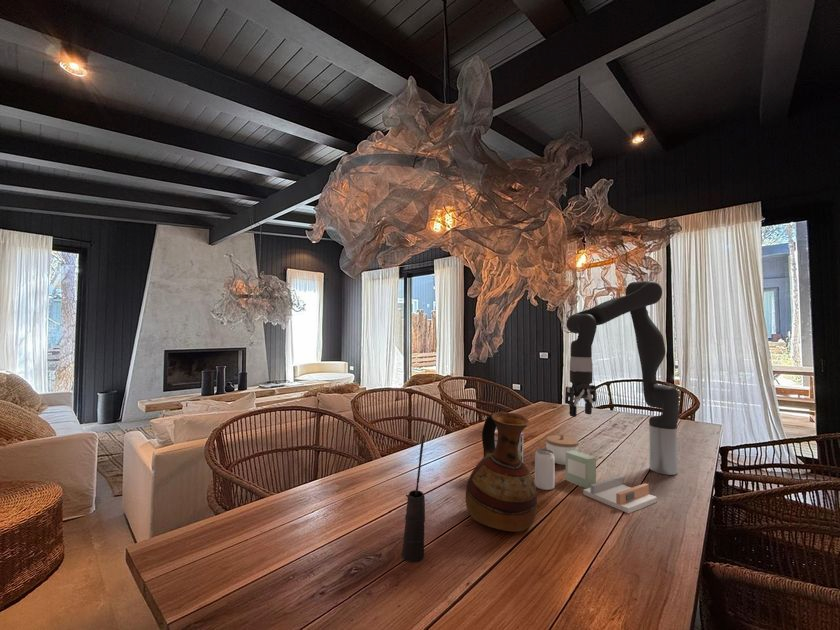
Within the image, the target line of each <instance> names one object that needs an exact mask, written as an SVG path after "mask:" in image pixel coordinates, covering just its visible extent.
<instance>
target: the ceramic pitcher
mask: <svg viewBox="0 0 840 630" xmlns="http://www.w3.org/2000/svg"><path fill="white" fill-rule="evenodd" d="M529 423H530V419H529V418H527V417H525V416H524V415H521V414H518V413H514V412H509V411H506V412H505V411H497V412H492V413H490V415H488V416H487V417H486V418H485V420H484V424H483V428H482V430H481V431H482V432H481V440H482V441H481V442H482V448H483V457H482V458H481V460H479V462H478V463H477V464H476V466H475V467H474V469H473V470H472V471H471V473H470V476H469V478H468V480H467V484H466V487H465V507H466V510H467V512H468V514H469V515H470V516H471V518H472V519H474V520H475V521H476V522H477V523H478V522H479V523H480V524H482V525H484V526H487V527H490V528H493V529H497V530H500V531H506V532H522V531H525V530H527V529H529V528H530V526H532V524H533V523H534V522H535V519H536V515H537V508H538V495H537V487H536V486H535V480H534V478H533V476H532V474H531V472H530V470H529V469H528V467H527V465H525V464H524V462H523V463H522V461H520V460H519V457H518V444H519V439H520V435H521V433H523V431H524V429H525V428H527V427H528V426H529ZM496 428H497V429H496ZM495 430H497V431H498V440H497V445H496V448H495Z"/></svg>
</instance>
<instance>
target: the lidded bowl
mask: <svg viewBox="0 0 840 630" xmlns="http://www.w3.org/2000/svg"><path fill="white" fill-rule="evenodd" d="M545 441H546V444H545V445H546V449H547V450H551V451H553V455H554V457H555V464H558V465H561V466H566V452H568V451H573V450H574V451H577V452H579V441H578V439H576V438H573V437H571V436H566V435H564V434H562V433H561V434H560V435H556V434H554V435H548V436H546V437H545Z"/></svg>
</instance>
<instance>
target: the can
mask: <svg viewBox="0 0 840 630" xmlns="http://www.w3.org/2000/svg"><path fill="white" fill-rule="evenodd" d="M555 464H556V463H555V457H554V455H553V451H551V450H547V448H539V449H536V450H535V454H534V484H535V488H536V489H539V490H542V491H552V490H554V489H555V484H556V483H555V474H556V473H555V469H556V467H555Z"/></svg>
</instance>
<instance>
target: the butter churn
mask: <svg viewBox="0 0 840 630" xmlns="http://www.w3.org/2000/svg"><path fill="white" fill-rule="evenodd" d="M424 441H425V434H422V437H421V443H420V451H419V459H418V460H419V461H418V467H417V468H418V469H417V477H416V486H415V489H414V490H411V491H410V492H408V494H405V497H407V498H406V499H407V500H406V509H405V510H406V511H405V512H406V513H405V516H404V519H405V524H404V532H403V538H402V539H403V540H402V548H401V549H402V550H401V555H400V556H401V559H402V560H403V561H404V562H405V561H408V562H411V563H413V562H414V563H418V562H421V561H423V560H424V558H425V522H426V504H425V503H426V502H425V501H426V500H425V498H426V497H425V493H424V492H423V491H421V490H419V483H420V476H421V475H420V474H421V468H422V458H423V451H424V443H425V442H424Z"/></svg>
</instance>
